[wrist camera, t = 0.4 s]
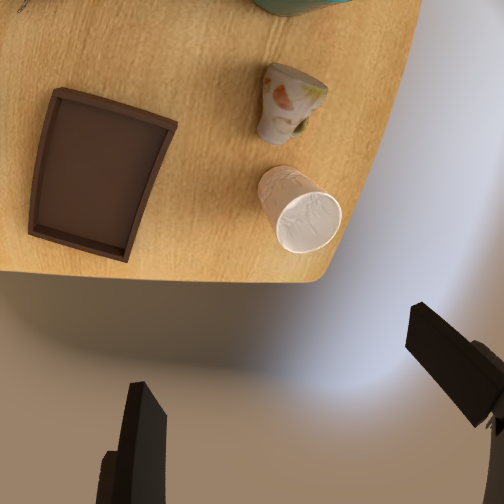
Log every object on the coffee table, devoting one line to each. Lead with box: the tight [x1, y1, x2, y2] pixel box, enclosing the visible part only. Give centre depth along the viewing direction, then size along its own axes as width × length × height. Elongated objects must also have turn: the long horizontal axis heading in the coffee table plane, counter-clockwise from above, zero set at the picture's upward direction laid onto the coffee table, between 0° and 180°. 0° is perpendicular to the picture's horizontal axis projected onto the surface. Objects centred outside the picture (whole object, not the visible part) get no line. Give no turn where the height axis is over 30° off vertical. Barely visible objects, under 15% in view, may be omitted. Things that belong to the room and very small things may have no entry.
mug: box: [257, 63, 328, 145], centre depth 29 cm, size 8×10×10 cm
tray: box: [28, 87, 178, 263], centre depth 30 cm, size 20×16×3 cm
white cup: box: [258, 165, 341, 254], centre depth 35 cm, size 8×8×10 cm
